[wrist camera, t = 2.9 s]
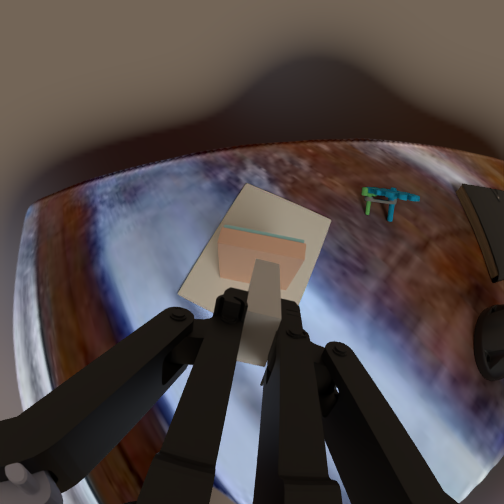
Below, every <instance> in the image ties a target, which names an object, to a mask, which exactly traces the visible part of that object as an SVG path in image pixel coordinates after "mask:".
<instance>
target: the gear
mask: <svg viewBox="0 0 504 504" xmlns="http://www.w3.org/2000/svg"><path fill="white" fill-rule="evenodd" d="M362 195H364V196H365V197H364V200H365V201H367V203H366V212H365V214H367V215H369V213H370V204H371V202H379V203H387V204H389V209H388V217H387V221H390V222H392V220H393V213H394V205H396V202H397V198H399V199H401V200H407V199H408V200H410V201H420V196H417V195H415V194H410V193H407V192H400V191H397V190H396V188H392V187H391V189H385V188H381V189H380V188H377V187H362ZM377 195H381V196H386V197H388V200H382V199H374V197H372V196H377Z"/></svg>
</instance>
